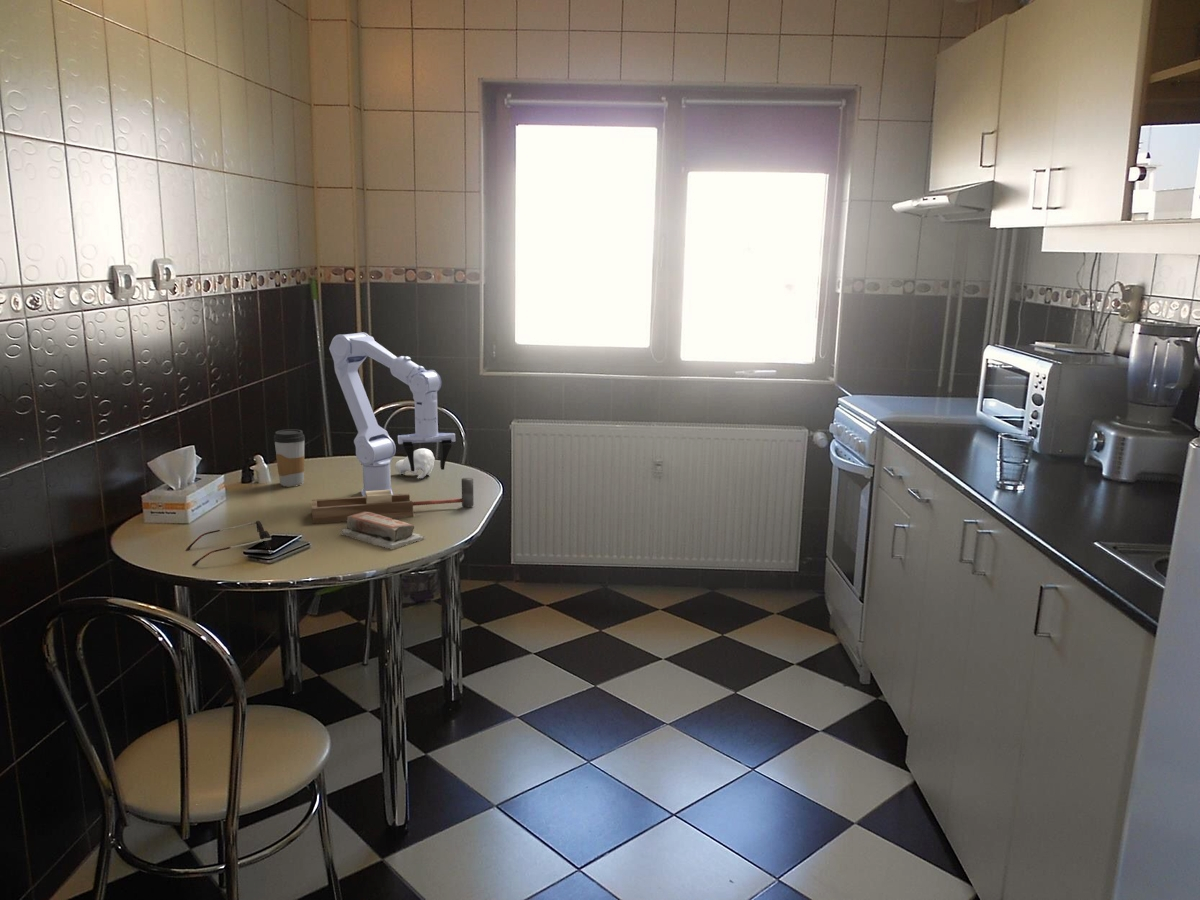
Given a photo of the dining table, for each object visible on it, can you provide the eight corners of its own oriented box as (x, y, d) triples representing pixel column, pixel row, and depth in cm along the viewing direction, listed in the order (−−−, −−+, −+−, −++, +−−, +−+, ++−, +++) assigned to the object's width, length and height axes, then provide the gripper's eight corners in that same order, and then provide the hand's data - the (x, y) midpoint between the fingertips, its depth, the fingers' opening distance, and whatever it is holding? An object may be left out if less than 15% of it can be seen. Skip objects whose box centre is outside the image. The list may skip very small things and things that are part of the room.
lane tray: (312, 512, 227) (311, 498, 226) (408, 505, 234) (408, 492, 234) (313, 523, 218) (312, 509, 217) (413, 516, 225) (413, 503, 224)
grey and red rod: (366, 509, 228) (365, 482, 227) (471, 502, 237) (471, 476, 235) (367, 514, 224) (366, 487, 222) (475, 507, 232) (474, 481, 231)
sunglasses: (273, 557, 195) (270, 535, 194) (193, 573, 187) (190, 551, 186) (261, 539, 207) (258, 518, 205) (185, 554, 199) (181, 533, 197)
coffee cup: (313, 483, 254) (311, 431, 251) (289, 489, 247) (286, 436, 244) (294, 478, 259) (291, 427, 255) (269, 484, 252) (266, 432, 249)
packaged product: (338, 516, 209) (372, 507, 217) (339, 536, 210) (372, 526, 218) (391, 531, 199) (424, 521, 207) (392, 552, 200) (425, 541, 208)
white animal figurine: (425, 451, 258) (388, 451, 262) (428, 479, 260) (391, 479, 263) (435, 446, 264) (399, 447, 268) (438, 475, 266) (402, 475, 269)
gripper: (399, 422, 225) (400, 474, 228) (457, 419, 229) (457, 471, 232) (396, 417, 231) (397, 468, 234) (452, 415, 236) (453, 465, 239)
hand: (427, 469), depth 234 cm, fingers open, 7 cm apart
